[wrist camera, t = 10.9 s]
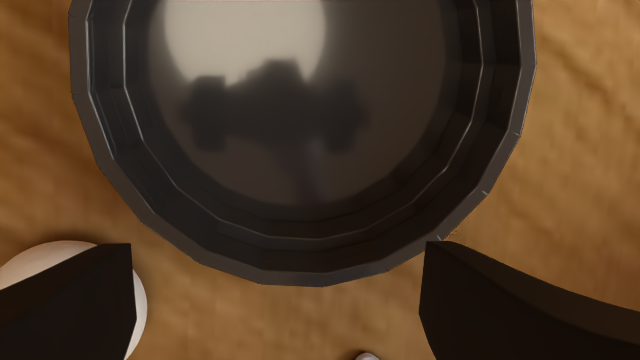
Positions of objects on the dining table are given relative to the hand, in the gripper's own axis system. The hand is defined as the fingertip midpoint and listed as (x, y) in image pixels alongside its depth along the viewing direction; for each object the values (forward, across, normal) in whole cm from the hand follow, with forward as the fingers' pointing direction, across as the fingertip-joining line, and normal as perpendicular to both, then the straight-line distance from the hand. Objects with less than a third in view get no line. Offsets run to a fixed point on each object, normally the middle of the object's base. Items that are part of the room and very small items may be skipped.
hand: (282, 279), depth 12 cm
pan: (+9, -1, -4) cm, 10 cm away
